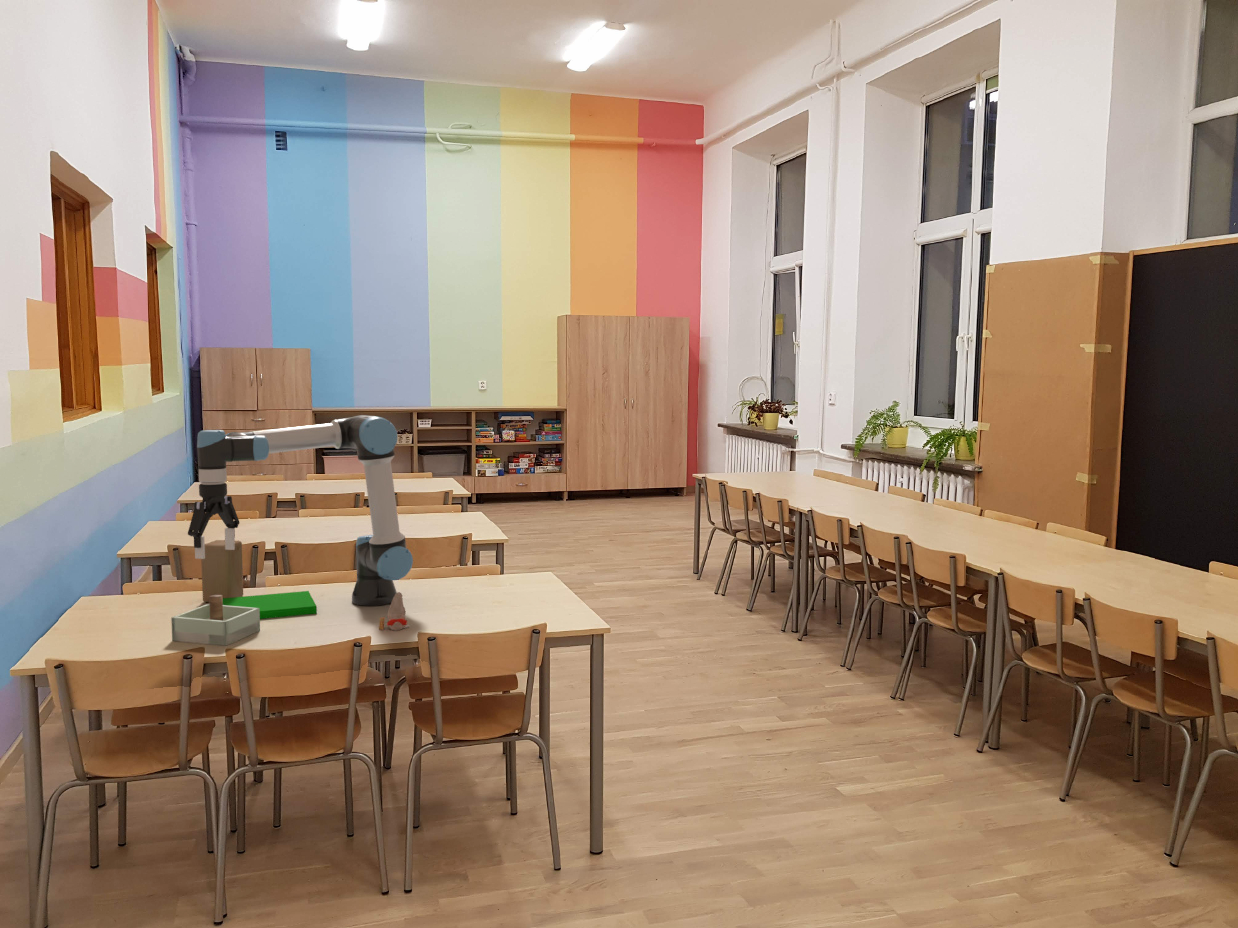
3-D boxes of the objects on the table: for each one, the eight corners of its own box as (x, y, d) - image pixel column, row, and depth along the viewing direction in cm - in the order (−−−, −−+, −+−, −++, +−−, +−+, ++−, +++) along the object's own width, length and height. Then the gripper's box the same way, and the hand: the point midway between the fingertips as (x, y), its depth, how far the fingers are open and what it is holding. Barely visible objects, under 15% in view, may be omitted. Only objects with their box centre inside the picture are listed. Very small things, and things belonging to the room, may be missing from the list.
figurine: (406, 623, 288) (409, 588, 285) (410, 632, 282) (413, 596, 279) (377, 625, 284) (379, 589, 282) (380, 634, 278) (383, 597, 275)
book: (220, 607, 307) (220, 598, 306) (308, 599, 319) (308, 590, 318) (223, 624, 286) (222, 615, 286) (316, 615, 298) (316, 606, 298)
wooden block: (244, 596, 319) (242, 540, 317) (229, 604, 309) (227, 545, 307) (217, 595, 320) (215, 539, 318) (201, 602, 310) (199, 544, 308)
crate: (260, 630, 278) (259, 608, 278) (226, 645, 263) (225, 621, 262) (208, 625, 282) (207, 603, 282) (172, 640, 267) (171, 617, 266)
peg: (226, 634, 274) (225, 595, 273) (218, 637, 271) (217, 598, 269) (215, 633, 275) (214, 594, 274) (207, 636, 271) (206, 597, 270)
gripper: (228, 477, 281) (231, 545, 283) (172, 487, 257) (175, 561, 259) (250, 478, 280) (252, 546, 282) (195, 488, 255) (198, 563, 258)
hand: (215, 554), depth 270 cm, fingers open, 13 cm apart
